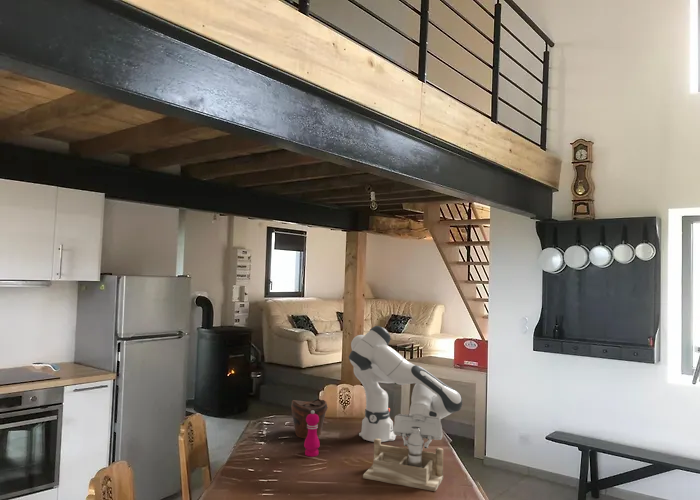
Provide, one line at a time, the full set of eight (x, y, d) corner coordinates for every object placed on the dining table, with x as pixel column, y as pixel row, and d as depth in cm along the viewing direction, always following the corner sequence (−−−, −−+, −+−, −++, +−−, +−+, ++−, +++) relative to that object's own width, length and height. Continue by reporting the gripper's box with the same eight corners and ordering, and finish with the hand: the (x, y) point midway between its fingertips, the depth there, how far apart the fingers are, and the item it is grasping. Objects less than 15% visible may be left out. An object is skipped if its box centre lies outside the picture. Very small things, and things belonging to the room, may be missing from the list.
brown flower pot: (334, 432, 278) (334, 397, 278) (311, 443, 261) (311, 406, 261) (307, 426, 287) (307, 393, 288) (283, 436, 270) (283, 400, 271)
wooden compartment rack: (374, 466, 233) (375, 438, 233) (443, 477, 222) (443, 448, 222) (363, 478, 220) (363, 448, 220) (435, 491, 208) (435, 460, 209)
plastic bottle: (404, 474, 220) (405, 425, 221) (420, 474, 221) (421, 425, 222) (408, 481, 213) (409, 430, 214) (424, 480, 214) (426, 429, 215)
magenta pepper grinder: (317, 457, 241) (318, 412, 242) (301, 456, 243) (302, 411, 243) (321, 452, 249) (322, 408, 249) (306, 450, 250) (307, 407, 250)
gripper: (394, 409, 228) (389, 439, 218) (443, 414, 223) (440, 445, 213) (396, 417, 232) (391, 447, 222) (444, 422, 227) (441, 453, 217)
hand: (415, 446), depth 218 cm, fingers open, 7 cm apart
